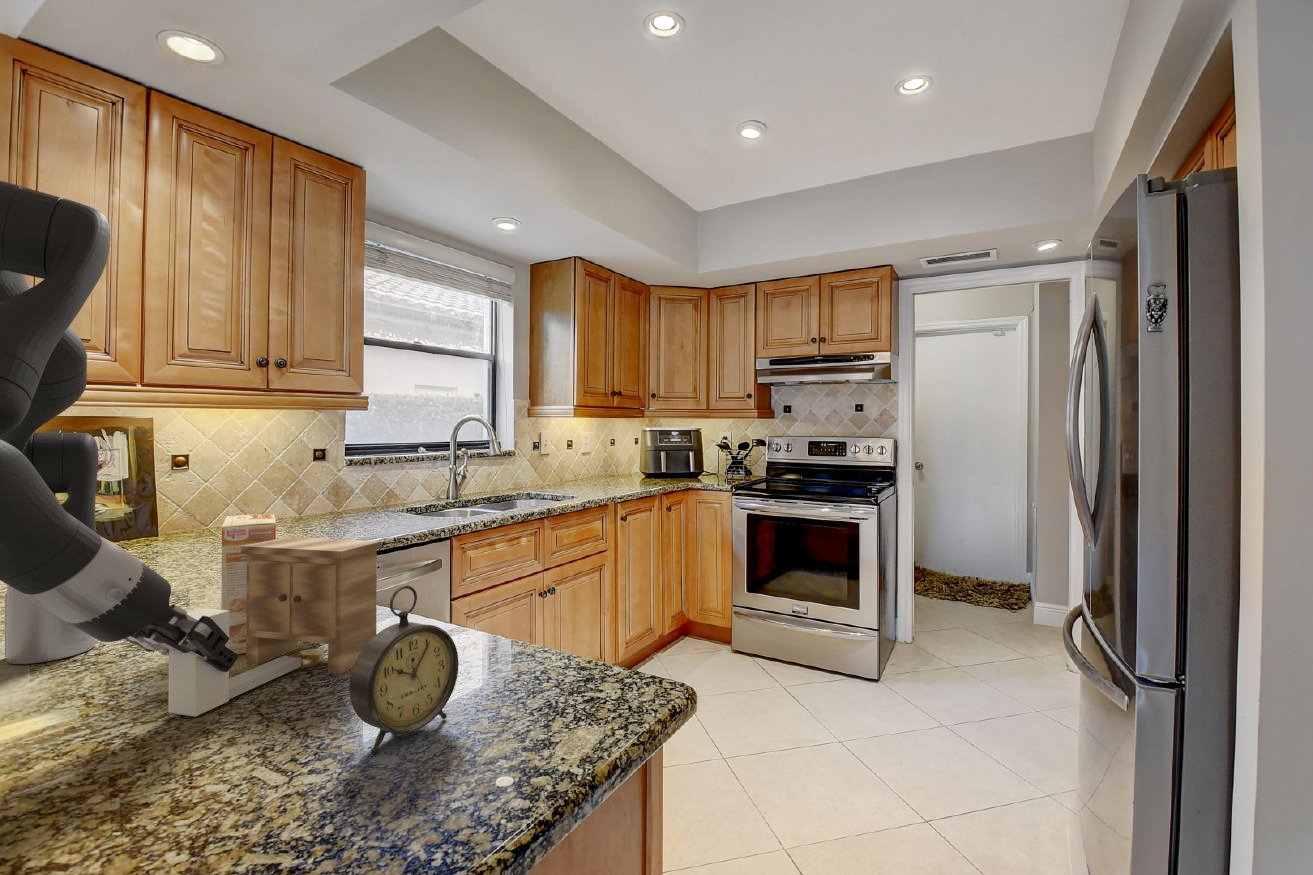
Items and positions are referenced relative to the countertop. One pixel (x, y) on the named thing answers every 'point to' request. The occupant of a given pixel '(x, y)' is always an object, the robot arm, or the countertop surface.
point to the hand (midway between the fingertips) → (215, 661)
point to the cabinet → (311, 597)
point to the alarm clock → (403, 676)
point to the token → (310, 657)
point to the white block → (214, 675)
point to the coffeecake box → (240, 569)
